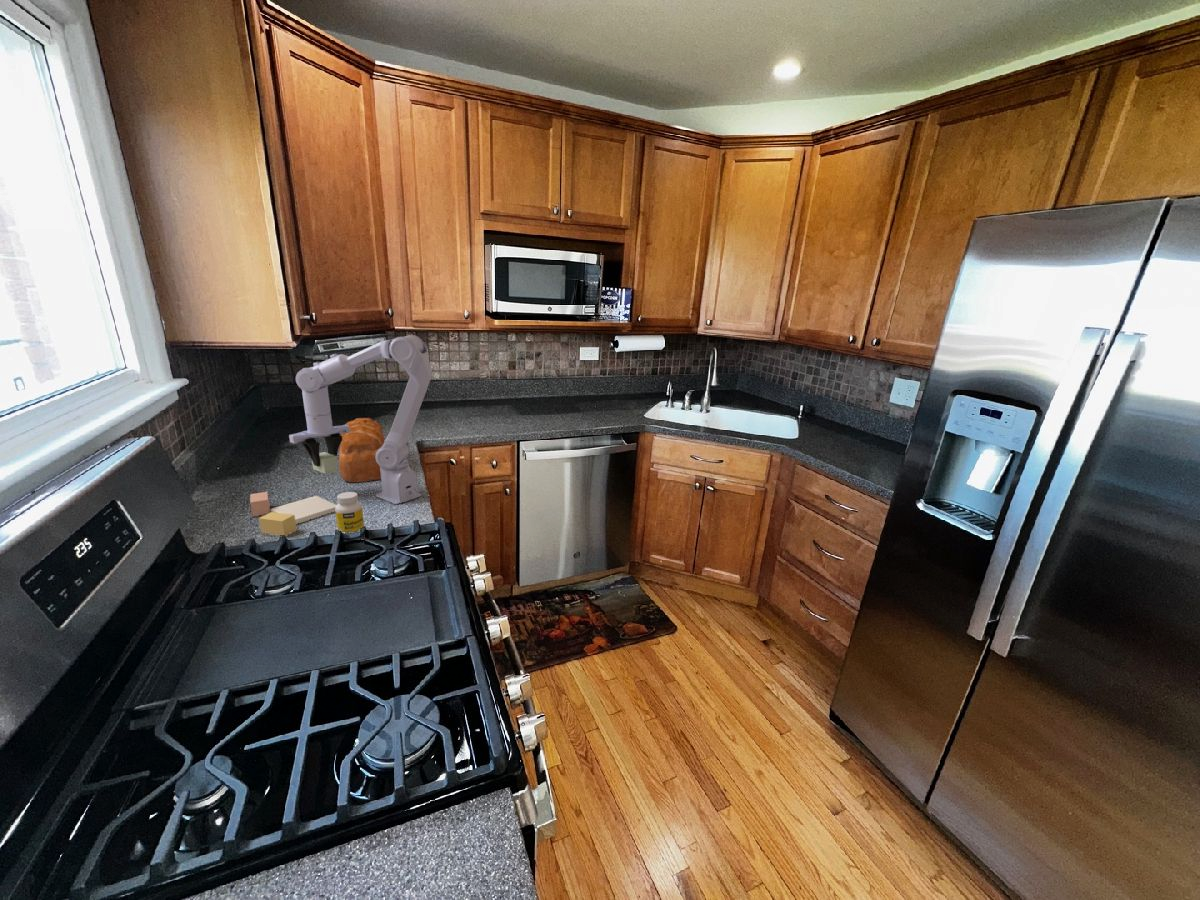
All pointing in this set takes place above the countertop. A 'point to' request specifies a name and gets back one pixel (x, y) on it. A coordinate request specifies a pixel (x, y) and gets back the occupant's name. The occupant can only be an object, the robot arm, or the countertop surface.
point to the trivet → (306, 508)
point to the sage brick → (326, 463)
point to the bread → (360, 451)
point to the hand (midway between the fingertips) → (325, 463)
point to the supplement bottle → (349, 513)
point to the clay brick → (259, 503)
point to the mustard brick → (277, 523)
